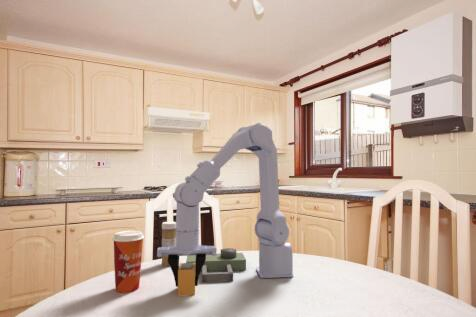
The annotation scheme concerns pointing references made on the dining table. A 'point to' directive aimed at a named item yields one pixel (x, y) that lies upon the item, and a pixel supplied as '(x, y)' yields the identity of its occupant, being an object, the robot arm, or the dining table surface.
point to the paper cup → (127, 260)
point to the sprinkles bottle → (168, 238)
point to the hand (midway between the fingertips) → (186, 284)
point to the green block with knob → (220, 265)
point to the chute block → (186, 279)
